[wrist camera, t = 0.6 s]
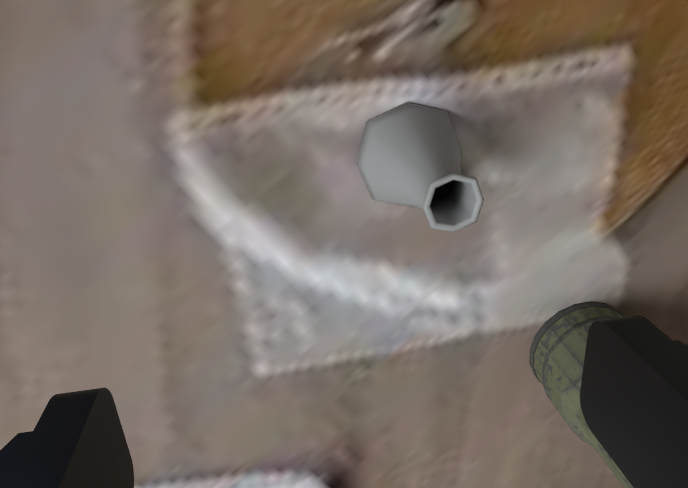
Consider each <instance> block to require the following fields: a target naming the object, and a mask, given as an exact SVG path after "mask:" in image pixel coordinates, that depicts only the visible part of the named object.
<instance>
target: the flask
mask: <svg viewBox="0 0 688 488" xmlns="http://www.w3.org/2000/svg"><path fill="white" fill-rule="evenodd" d="M460 164H461V147H460V145H459V142H458V139H457V136H456V133H455V130H454V128H453V125H452V122H451V119H450V116H449V114H448V111H444V110H440V109H435V108H431V107H426V106H421V105H417V104H412V103H408V102H406V103H404V104H402V105H400V106H398V107H396V108H394V109H391V110H389V111H387V112H385V113H383V114H381V115H379V116H377V117H375V118H373V119H370V120H368V121H367V122H366V126H365V130H364V134H363V138H362V143H361V147H360V151H359V155H358V159H357V166H358V168H359V170H360V172H361V175H362V177H363V179H364V181H365V184H366V186H367V188H368V190H369V192H370V195H371V197H372V199H373V200H377V201H382V202H388V203H394V204H399V205H405V206H410V207H419V208H421V209H423V210H424V211H425V214H426V216H427V219H428V221H429V223H430V226H431V227H432V228H434V229H440V230H446V231H451V232H456V231H458V230H460V229H462V228H464V227H467V226H469V225H471V224H473V223H475V222H477V219H478V216H479V213H480V210H481V207H482V204H483V201H484V198H483V196H482V193H481V190H480V187H479V184H478V181H477V178H476V177H472V176H467V175H463V174H462V173H461V168H460Z"/></svg>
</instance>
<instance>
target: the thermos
mask: <svg viewBox="0 0 688 488" xmlns="http://www.w3.org/2000/svg"><path fill="white" fill-rule="evenodd" d="M623 317H624V316H623V315H622V314H621V313H620V312H619V311H618V310H617V309H615V308H613V307H611V306H609V305H607V304H605V303H596V302H586V303H580V304H575V305H572V306H570V307H568V308H566V309H564V310H561V311H559V312H558V313H556V314H555V315H554V316H553V317H551V318H550V319H549V320H548V321H546V322H545V323H544V325H543V326H542V327H541V329H540V330H539V331H538V333H537V334H536V335H535V338H534V341H533V343H532V346H531V349H530V365H531V368H532V370H533V373H534V375H535V377H536V378H537V379H538V380H539V381H540V382H541V383H542V385H543V386H544V389H545V392H546V394H547V396H548V398H549V399H550V401H551V402H552V403H553V405H554V406H555V407H556V409H557V410H558V412H559V413H560V414H561V416H562V417H563V418H564V420H565V421H566V423H567V424H568V425H569V427H570V428H571V429H572V431H573V432H574V433H575V434H576V435H577V436H578V437H580V438H581V439H582V440H583V441H585V442H586V443H588V444H590V445H591V446H593V447H594V448H595V449H596V450H597V452H598V453H599V454H600V456H601V457H602V458H603V460H604V461H605V462H606V464H607V465H608V466H609V468H610V469H611V470H612V472H613V473H614V475H615V476H616V477H617V479H618V480H619V481H620V483H621V484H622V485H623V487H624V488H633V486H632V485H631V484H630V482H629V481H628V480H627V478H626V477H625V476H624V474H623V473H622V472H621V471H620V469H619V468H618V467H617V465H616V464H615V463H614V461H613V460H612V459H611V457H610V456H609V455H608V453H607V452H606V451H605V449H604V448H603V447H602V445H601V444H600V443H599V441H598V440H597V439H596V437H595V436H594V435H593V433H592V432H591V431H590V429H589V427H588V426H587V424H586V421H585V419H584V416H583V413H582V410H581V405H580V388H581V380H582V373H583V365H584V358H585V350H586V343H587V335H588V330H589V328H590V326H591V324H592V323H593V322H595V321H601V320H608V319H616V318H623Z"/></svg>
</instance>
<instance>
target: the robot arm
mask: <svg viewBox="0 0 688 488" xmlns="http://www.w3.org/2000/svg"><path fill="white" fill-rule="evenodd" d="M580 405H581V410H582V413H583V416H584V419H585V421H586V424H587V426H588V427H589V429H590V431H591V432H592V433H593V435H594V436H595V437H596V439H597V440H598V441H599V443H600V444H601V445H602V447H603V448H604V449H605V451H606V452H607V453H608V455H609V456H610V457H611V459H612V460H613V461H614V463H615V464H616V465H617V467H618V468H619V469H620V471H621V472H622V473H623V474H624V476H625V477H626V478H627V480H628V481H629V482H630V484H631V485H632V486H633V488H688V345H686V344H684V343H682V342H680V341H672V340H671V339H670V338H669V337H668V336H667V335H665V334H664V333H663V332H662V331H661V330H659V329H658V328H657V327H656V326H655V325H653V324H652V323H651V322H650V321H649V320H647V319H646V318H644V317H642V316H630V317H623V318H616V319H608V320H601V321H595V322H593V323H592V324H591V326H590V328H589V330H588V335H587V343H586V350H585V358H584V365H583V373H582V380H581V388H580ZM0 488H134V471H133V464H132V459H131V456H130V452H129V449H128V446H127V442H126V439H125V436H124V433H123V429H122V426H121V423H120V419H119V416H118V413H117V410H116V406H115V403H114V400H113V397H112V395H111V393H110V391H109V390H108V389H107V388H99V389H91V390H84V391H77V392H70V393H62V394H56V395H54V396H53V397H52V398H51V399H50V400H49V402H48V404H47V406H46V408H45V410H44V412H43V414H42V415H41V417H40V419H39V421H38V423H37V425H36V427H35V429H34V431H32V432H25V433H18V434H17V435H16V436H15V437H14V438H13V439H12V440H11V441H10V442H9V443H8V444H7V445H6V446H4V447H3V448H2V449H1V450H0Z"/></svg>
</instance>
